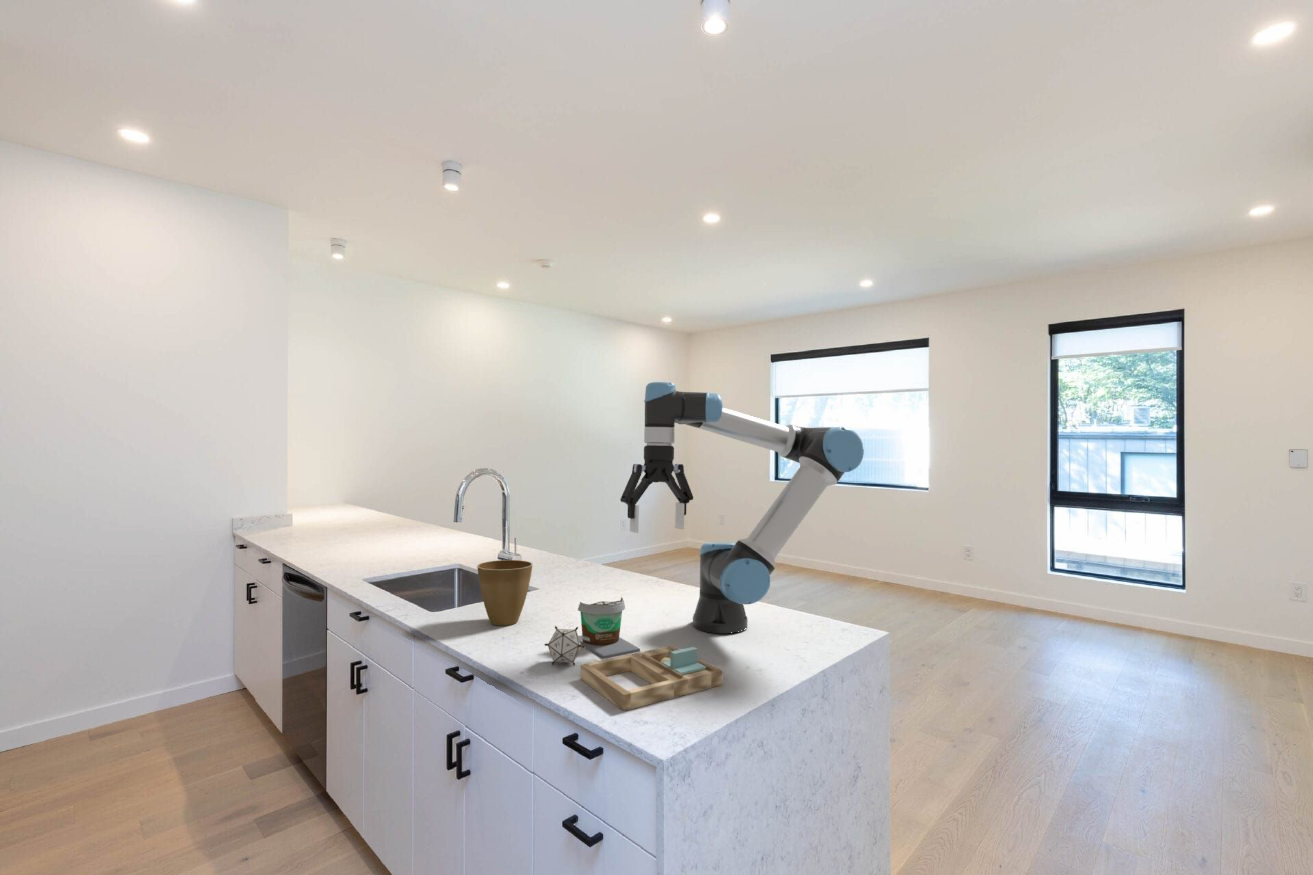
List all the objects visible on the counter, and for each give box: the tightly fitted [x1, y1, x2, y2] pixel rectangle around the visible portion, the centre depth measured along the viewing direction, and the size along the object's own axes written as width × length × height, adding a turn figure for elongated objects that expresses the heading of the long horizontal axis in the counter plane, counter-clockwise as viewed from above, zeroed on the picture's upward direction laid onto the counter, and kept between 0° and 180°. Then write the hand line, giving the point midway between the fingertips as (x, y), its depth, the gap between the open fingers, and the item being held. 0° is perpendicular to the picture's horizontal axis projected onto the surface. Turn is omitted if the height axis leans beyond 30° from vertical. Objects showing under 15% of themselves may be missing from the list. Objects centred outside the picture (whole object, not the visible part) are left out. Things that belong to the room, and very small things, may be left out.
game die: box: [543, 625, 586, 667], centre depth 137 cm, size 9×8×10 cm
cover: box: [662, 646, 706, 675], centre depth 128 cm, size 7×7×4 cm
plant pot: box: [476, 559, 533, 627], centre depth 167 cm, size 15×15×16 cm
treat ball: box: [660, 658, 670, 663], centre depth 133 cm, size 3×3×3 cm
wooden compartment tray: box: [580, 645, 724, 712], centre depth 127 cm, size 24×18×4 cm
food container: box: [577, 596, 626, 646], centre depth 149 cm, size 12×6×10 cm, turn 118°
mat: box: [578, 634, 641, 660], centre depth 149 cm, size 10×16×1 cm, turn 34°
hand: (657, 530), depth 149 cm, fingers open, 13 cm apart
